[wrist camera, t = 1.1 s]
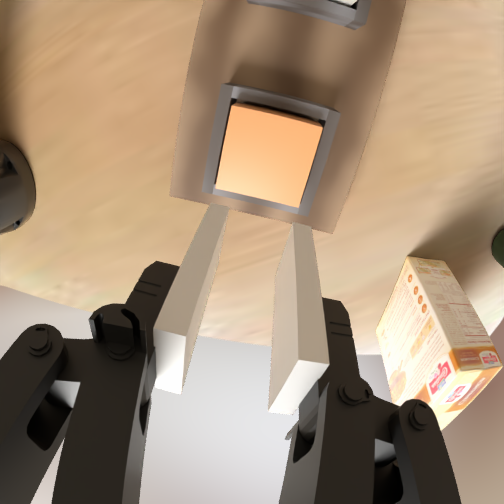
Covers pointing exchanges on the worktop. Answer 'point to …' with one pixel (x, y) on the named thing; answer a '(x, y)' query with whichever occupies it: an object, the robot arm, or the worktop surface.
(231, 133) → the orange key
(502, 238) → the character mug
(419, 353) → the coffeecake box
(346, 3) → the white key
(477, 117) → the worktop surface
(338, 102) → the key panel
